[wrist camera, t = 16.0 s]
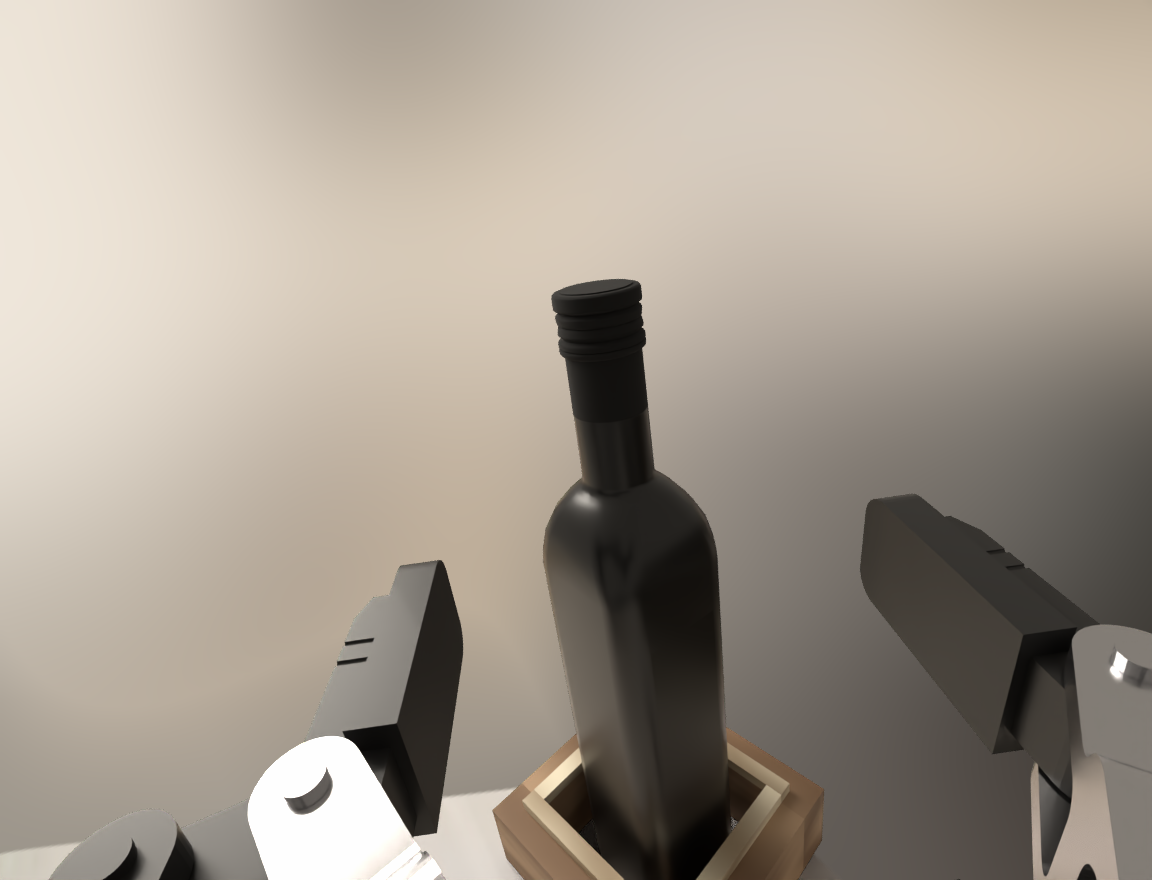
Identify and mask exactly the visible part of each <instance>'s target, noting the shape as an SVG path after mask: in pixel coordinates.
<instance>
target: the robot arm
mask: <svg viewBox="0 0 1152 880" xmlns="http://www.w3.org/2000/svg"><path fill="white" fill-rule="evenodd" d="M860 572H861V579H862V583H863V586H864V589H865V591H866V593H867V595H868V597H869V599H870V600H871V602H872V603H873V604H874V605H875V607H876V608H877V609H878V610H879V612H880V613H881V614H882V616H883V617H884V618H885V619H886V621H887V622H888V623H889V624H890V625H891V627H892V628H893V629H894V631H895V632H896V633H897V634H898V636H899V637H900V638H901V640H902V641H903V642H904V643H905V645H906V646H907V647H908V648H909V649H910V651H911V652H912V653H913V655H914V656H915V657H916V658H917V660H918V661H919V662H920V663H921V665H922V666H923V667H924V669H925V670H926V671H927V672H928V674H929V675H930V676H931V677H932V678H933V680H934V681H935V682H936V684H937V685H938V686H939V688H940V689H941V690H942V691H943V692H944V694H945V695H946V696H947V698H948V699H949V700H950V701H951V703H952V704H953V705H954V706H955V708H956V709H957V710H958V712H959V713H960V714H961V715H962V717H963V718H964V719H965V720H966V722H967V723H968V724H969V725H970V727H971V728H972V729H973V730H974V732H975V733H976V734H977V736H978V737H979V738H980V739H981V740H982V742H983V743H984V744H985V745H986V747H987V748H988V749H989V751H990V752H991V753H992V754H997V753H1003V752H1011V751H1018V750H1024V749H1025V750H1026V752H1027V753H1028V754H1029V755H1030V756H1031V757H1032V759H1033V760H1034V761H1035V762H1034V766H1033V769H1032V772H1031V806H1032V845H1033V880H1152V634H1150V633H1148V632H1145V631H1141V630H1137V629H1134V628H1129V627H1123V626H1115V625H1100V624H1099V623H1097V622H1096V621H1095V620H1094V619H1093V618H1091V617H1090V616H1089V615H1088V614H1086V613H1085V612H1084V611H1083V610H1081V609H1080V608H1079V607H1077V606H1076V605H1075V604H1074V603H1072V602H1071V601H1070V600H1069V599H1067V598H1066V597H1065V596H1064V595H1062V594H1061V593H1060V592H1059V591H1057V590H1056V589H1055V588H1054V587H1052V586H1051V585H1050V584H1048V583H1047V582H1046V581H1044V580H1043V579H1042V578H1041V577H1040V576H1038V575H1037V574H1036V573H1035V572H1033V571H1032V570H1031V569H1030V568H1025V567H1024V564H1023V563H1022V562H1021V561H1020V560H1018V559H1017V558H1016V557H1014V556H1013V555H1012V554H1011V553H1009V552H1008V553H1006V552H1005V550H1004V548H1003V547H1002V546H1001V545H999V544H998V543H997V542H996V541H994V540H993V539H992V538H991V537H989V536H988V535H987V534H985V533H984V532H983V531H982V530H980V529H977V528H975V527H973V526H971V525H969V524H967V523H964V522H962V521H960V520H958V519H956V518H953V517H951V516H946V517H944V516H943V515H942V514H941V513H939V512H938V511H937V510H936V509H934V508H933V507H932V506H931V505H930V504H929V503H927V502H926V501H925V500H924V499H922V498H921V497H920V496H918V495H916V494H907V495H900V496H893V497H886V498H880V499H873V500H871V501H870V502H869V503H868V505H867V508H866V514H865V524H864V534H863V545H862V555H861V564H860ZM462 658H463V637H462V629H461V624H460V620H459V616H458V613H457V608H456V605H455V601H454V597H453V594H452V590H451V586H450V583H449V579H448V575H447V571H446V568H445V566H444V563H443V562H442V561H441V560H437V561H430V562H423V563H417V564H409V565H402V566H400V567H399V569H398V571H397V574H396V577H395V580H394V583H393V586H392V588H391V591H390V594H389V595H386V596H379V597H373V598H372V600H371V601H370V602H369V603H368V604H367V605H366V606H365V607H364V609H363V610H362V611H361V612H360V613H359V614H358V615H357V616H356V617H355V619H354V620H353V623H352V625H351V628H350V630H349V633H348V635H347V638H346V640H345V646H343V647H342V650H341V652H340V655H339V658H338V660H337V666H335V667H334V670H333V672H332V675H331V677H330V680H329V682H328V685H327V687H326V690H325V692H324V695H323V697H322V699H321V702H320V704H319V707H318V709H317V712H316V715H315V717H314V719H313V721H312V724H311V727H310V729H309V732H308V734H307V736H306V739H305V741H304V743H303V744H301V745H299V746H297V747H296V748H294V749H292V750H291V751H289V752H288V753H286V754H285V755H283V756H282V757H281V758H280V759H279V760H278V761H276V762H275V763H274V764H273V765H272V766H271V767H270V768H269V769H268V770H267V771H266V773H265V774H264V775H263V777H262V778H261V779H260V781H259V782H258V784H257V786H256V788H255V789H254V792H253V794H252V796H251V797H250V798H249V799H246V800H244V801H242V802H240V803H238V804H236V805H233V806H231V807H229V808H227V809H224V810H222V811H220V812H217V813H215V814H213V815H210V816H208V817H206V818H204V819H201V820H199V821H196V822H194V823H192V824H189V825H187V826H185V827H183V828H180V827H179V826H178V824H177V823H176V821H175V820H174V818H173V817H172V815H170V814H169V813H168V812H166V811H164V810H160V809H144V810H139V811H136V812H132V813H129V814H127V815H124V816H122V817H120V818H118V819H116V820H114V821H112V822H110V823H108V824H107V825H105V826H104V827H102V828H100V829H99V830H97V831H96V832H95V833H93V834H92V835H90V836H89V837H88V838H87V839H85V840H84V841H83V842H82V843H81V844H79V845H78V846H77V847H76V848H75V849H74V850H73V851H72V852H71V853H70V854H69V855H68V856H67V857H66V858H65V859H64V860H63V861H62V863H61V864H60V865H59V866H58V867H57V868H56V870H55V871H54V873H53V874H52V875H51V877H50V878H49V880H446V879H445V877H444V876H443V874H442V873H441V871H440V869H439V868H438V866H437V865H436V863H435V862H434V860H433V859H432V858H431V856H430V855H429V854H428V853H427V852H426V851H425V852H423V853H422V852H421V850H420V849H419V847H418V846H417V844H416V843H415V841H414V839H413V836H420V835H427V834H434V833H437V827H438V821H439V814H440V807H441V800H442V794H443V787H444V780H445V772H446V766H447V760H448V753H449V746H450V739H451V732H452V726H453V719H454V712H455V706H456V699H457V692H458V685H459V678H460V672H461V665H462ZM959 880H960V879H959Z"/></svg>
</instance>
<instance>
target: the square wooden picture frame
mask: <svg viewBox="0 0 1152 880" xmlns="http://www.w3.org/2000/svg"><path fill="white" fill-rule="evenodd" d="M726 733H727V753H728V772H729V791H730V811H731V816H732V817H733V818H734V819H736V820H737V821H738V822H739V823H738V824H737V825H736V827H735V828H734V829H733V831H732V832H731V833H730V835H729V836H728V837H727V839H726V840H725V841H724V843H723V844H722V845H721V847H720V848H719V849H718V851H717V852H716V854H715V855H714V856H713V858H712V859H711V860H710V862H709V863H708V864H707V866H706V867H705V868H704V870H703V871H702V872H701V874H700V875H699V876H698V878H697V879H696V880H798V878H799V877H800V875H801V874H802V872H803V870H804V869H805V867H806V865H807V864H808V862H809V861H810V859H811V857H812V856H813V854H814V852H815V850H816V849H817V847H818V846H819V844H820V842H821V841H822V825H823V801H824V789H823V788H821V787H819V786H818V785H817V784H815V783H813V782H812V781H810V780H809V779H807V778H805V777H804V776H802V775H801V774H799V773H798V772H796V771H795V770H793V769H791V768H790V767H788V766H787V765H785V764H784V763H782V762H780V761H779V760H777V759H776V758H774V757H773V756H771V755H769V754H768V753H766V752H765V751H763V750H762V749H760V748H758V747H757V746H755V745H754V744H752V743H751V742H749V741H748V740H746V739H744V738H743V737H741V736H740V735H738V734H737V733H735V732H733V731H732V730H730V729H729V728H727V727H726ZM492 811H493V814H494V817H495V821H496V824H497V828H498V831H499V834H500V838H501V841H502V845H503V848H504V851H505V855H506V858H507V859H508V861H509V862H510V863H511V864H512V865H513V867H514V868H515V869H516V870H517V871H518V873H519V874H520V875H521V876H522V877H523V879H524V880H624V879H623V878H622V877H621V876H620V875H619V874H618V873H617V872H616V871H615V870H614V869H613V868H612V867H611V866H610V865H609V864H608V863H607V862H606V861H605V860H604V859H603V858H602V857H601V856H600V855H599V854H598V853H597V852H596V851H595V850H594V849H593V848H592V847H591V846H590V845H589V844H588V843H587V842H586V841H585V840H584V839H583V838H582V837H581V836H580V835H579V834H578V833H579V832H580V831H581V830H582V829H583V828H584V826H585V825H586V824H587V823H588V822H589V821H590V820H591V819H592V818H593V817H592V811H591V806H590V801H589V796H588V791H587V786H586V780H585V775H584V770H583V765H582V760H581V755H580V749H579V744H578V739H577V734H575V735H574V736H573V737H572V738H571V739H570V740H569V741H568V742H566V743H565V744H564V745H563V746H562V747H561V748H560V749H559V750H558V751H557V752H556V753H554V754H553V756H551V757H550V758H549V759H548V760H547V761H546V762H545V763H544V764H543V765H541V766H540V767H539V768H538V769H537V770H536V771H535V772H534V773H533V774H532V775H530V777H528V778H527V779H526V780H525V781H524V782H523V783H522V784H521V785H520V786H518V787H517V788H516V789H515V790H514V791H513V792H512V793H511V794H510V795H509V796H508V797H506V798H505V799H504V800H503V801H502V802H501V803H500V804H499V805H498V806H497V807H496V808H494V809H493V810H492Z"/></svg>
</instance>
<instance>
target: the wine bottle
mask: <svg viewBox="0 0 1152 880" xmlns="http://www.w3.org/2000/svg"><path fill="white" fill-rule="evenodd" d="M641 299H642V291H641V285H640V283H639V282H638V281H634V280H626V279H609V280H600V281H592V282H586V283H581V284H576V285H573V286H569V287H566V288H563V289H561V290H558V291H556V292H554V294H553V295H552V306H553V311H555V312H556V313H557V315H556V316H555V319H556V323H557V325H558V336H559V337H561V339H560V340H559V342H558V343H559V344H558V345H559V352H560V354H561V355H562V356H563V357H564V358H565V360H566V367H567V374H568V380H569V388H570V395H571V402H572V409H573V415H574V421H575V428H576V434H577V441H578V449H579V455H580V462H581V469H582V478H581V479H580V480H578V481H577V482H576V483H575V484H574V485H573V486H572V487H571V488H570V489H569V490H568V491H567V492H566V493H565V495H564V496H563V497H562V498H561V499H560V501H558V503H557V505H556V507H555V509H554V511H553V514H552V516H551V518H550V520H549V522H548V525H547V527H546V530H545V537H544V545H543V563H544V568H545V573H546V578H547V584H548V589H549V594H550V599H551V604H552V610H553V615H554V620H555V625H556V630H557V635H558V641H559V645H560V651H561V656H562V661H563V666H564V672H565V677H566V682H567V687H568V692H569V697H570V702H571V708H572V713H573V718H574V723H575V728H576V734H577V739H578V744H579V749H580V755H581V760H582V765H583V770H584V775H585V780H586V786H587V791H588V796H589V801H590V806H591V811H592V817H593V822H594V827H595V832H596V837H597V843H598V848H599V851H600V853H601V855H602V858H603V859H604V860H605V861H606V862H607V863H608V864H609V865H610V866H611V867H612V868H613V869H614V870H615V871H616V872H617V873H618V874H619V875H620V876H621V877H622V878H623V879H624V880H696V879H697V878H698V876H699V875H700V874H701V872H702V871H703V870H704V868H705V867H706V866H707V864H708V863H709V862H710V860H711V859H712V858H713V856H714V855H715V854H716V852H717V851H718V849H719V848H720V847H721V845H722V844H723V843H724V841H725V840H726V839H727V837H728V836H729V835H730V833H731V832H732V830H731V811H730V791H729V772H728V753H727V733H726V714H725V694H724V675H723V656H722V636H721V618H720V597H719V579H718V558H717V550H716V545H715V541H714V536H713V533H712V530H711V528H710V525H709V523H708V520H707V518H706V516H705V514H704V513H703V511H702V510H701V509H700V507H699V506H698V505H697V503H696V502H695V501H694V500H693V498H692V497H691V496H690V495H689V494H688V493H687V492H686V491H685V490H684V489H682V488H681V487H680V486H678V485H677V484H676V483H675V482H674V481H672V480H671V479H670V478H669V477H667V476H666V475H664V474H662V473H661V472H659V471H656V470H655V469H654V460H653V450H652V440H651V431H650V421H649V411H648V402H647V391H646V382H645V372H644V363H643V352H642V347H644V345H645V344H646V337H645V336H646V335H645V330H644V329H643V328H642V326H643V319H642V316H641V314H642V305H641V303H639V301H640V300H641Z"/></svg>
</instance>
